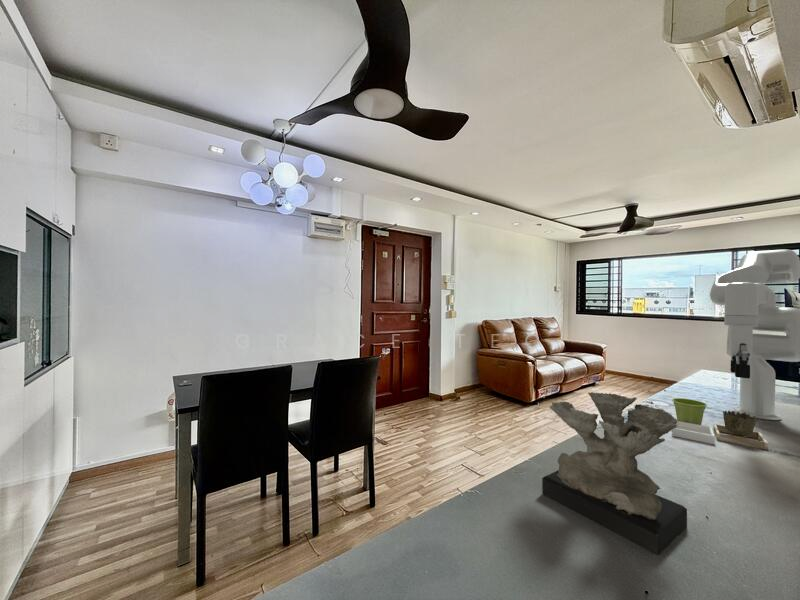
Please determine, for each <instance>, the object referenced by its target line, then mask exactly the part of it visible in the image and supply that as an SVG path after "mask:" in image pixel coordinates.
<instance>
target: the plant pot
mask: <svg viewBox="0 0 800 600" xmlns="http://www.w3.org/2000/svg"><path fill="white" fill-rule="evenodd" d="M671 401H672V402H673V405H674V408H675V414H676V419H677V421H681V422H687V423H692V424H698V425H702V424H703V423H702V422H703V418H704V412H705V410H706V407H708V404H707V403H706V402H703V401H701V400H697V399H689V398H682V397H680V398H679V397H673V398H672V399H671Z"/></svg>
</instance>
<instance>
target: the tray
mask: <svg viewBox="0 0 800 600" xmlns="http://www.w3.org/2000/svg"><path fill="white" fill-rule="evenodd" d="M676 425H677V427H676V428H674V429H672V430H671V431H672V433H671V435H672V437H677V438H682V439H686V440H691V441H697V442H701V443H705V444H711V445H716V444H715V440H716V439H715V438H716V436H715V433H714V430H713V428H712V426H707V425H702V424H701V425H698V424H692V423H687V422H681V421H677V423H676Z"/></svg>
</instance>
